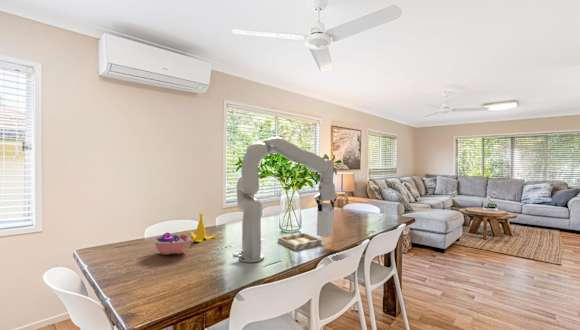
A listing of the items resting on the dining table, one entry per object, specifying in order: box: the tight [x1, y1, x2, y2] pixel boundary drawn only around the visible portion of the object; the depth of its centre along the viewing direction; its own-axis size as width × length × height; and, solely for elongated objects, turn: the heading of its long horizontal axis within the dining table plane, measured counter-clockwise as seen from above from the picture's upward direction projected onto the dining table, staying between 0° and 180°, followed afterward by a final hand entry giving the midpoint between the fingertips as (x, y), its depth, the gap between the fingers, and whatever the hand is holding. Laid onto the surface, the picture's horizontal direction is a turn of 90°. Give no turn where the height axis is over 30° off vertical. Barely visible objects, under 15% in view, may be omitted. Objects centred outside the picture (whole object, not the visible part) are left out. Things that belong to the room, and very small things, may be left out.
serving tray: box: [277, 232, 323, 251], centre depth 171 cm, size 20×18×3 cm
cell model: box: [153, 232, 193, 256], centre depth 151 cm, size 17×20×11 cm
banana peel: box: [189, 213, 219, 243], centre depth 179 cm, size 17×19×17 cm
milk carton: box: [316, 202, 335, 238], centre depth 163 cm, size 7×7×19 cm
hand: (325, 210), depth 163 cm, fingers closed on milk carton, 8 cm apart
